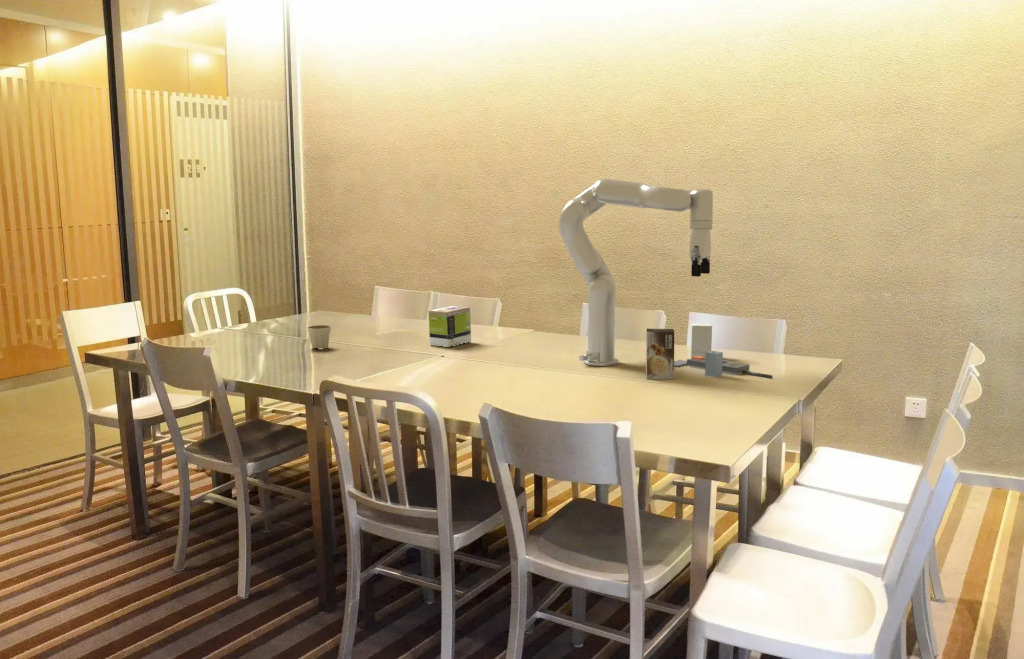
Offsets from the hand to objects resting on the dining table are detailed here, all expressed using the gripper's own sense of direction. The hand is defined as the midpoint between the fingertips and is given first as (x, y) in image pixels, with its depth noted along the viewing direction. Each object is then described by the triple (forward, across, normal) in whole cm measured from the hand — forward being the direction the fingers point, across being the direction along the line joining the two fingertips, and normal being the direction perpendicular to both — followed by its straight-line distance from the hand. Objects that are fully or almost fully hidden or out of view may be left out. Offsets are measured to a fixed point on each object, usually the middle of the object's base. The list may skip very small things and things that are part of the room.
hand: (700, 274), depth 295 cm
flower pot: (+29, +42, -141) cm, 150 cm away
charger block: (+32, +14, +10) cm, 36 cm away
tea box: (+31, +10, -100) cm, 105 cm away
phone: (+32, +2, -7) cm, 33 cm away
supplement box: (+32, -12, -4) cm, 35 cm away
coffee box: (+32, +26, -5) cm, 41 cm away
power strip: (+32, +5, +13) cm, 35 cm away
